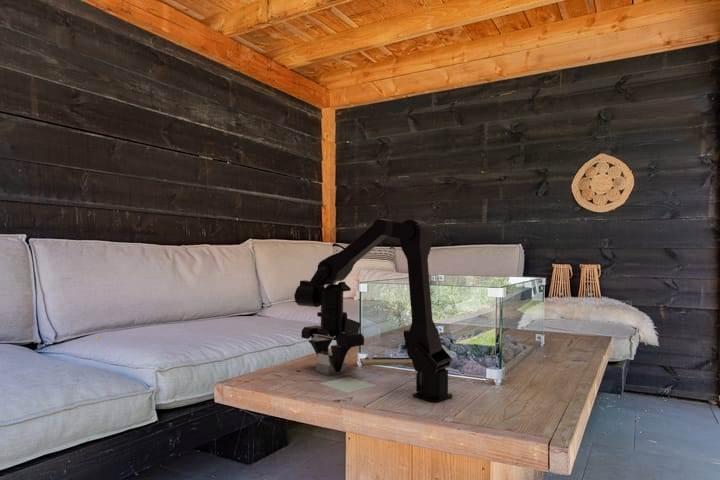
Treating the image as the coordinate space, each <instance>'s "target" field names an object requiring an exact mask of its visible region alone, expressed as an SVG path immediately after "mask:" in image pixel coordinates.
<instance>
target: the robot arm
mask: <svg viewBox="0 0 720 480" xmlns="http://www.w3.org/2000/svg"><path fill="white" fill-rule="evenodd" d="M387 237H389V238H394V239H398V240H399V245H400V248H401V250H402V252H403V255H404V257H405V258H406V262H407V263H406V264H407V273H408V277H407V278H408V287H409V288H408V289H409V300H410V311H411V312H410V313H411V315H410V316H411V325H410V328H409V329H405V330H404V331H403V337H404V348H403V349H404V350H406V354H407V356H408V357H409V358H411V359H412V362H413V365H414V368H413V369H414V371H415V372H417V373H416V374H415V376H416V377H415V379H416V380H415V382H416V383H415V385H416V386H415V387H416V388H415V391H416V392H414V393H412V397H415V398H417V399H422V400H426V401H428V402H432V403H438V402H440V401H444V400H447V399H450V398H452V397H453V394H452V393H449V370H448V369H446V368H448V367H450V365H451V363H452V360H453V359H452V358H453V357H451V356H450V354H449V353H448V352H447V351H446V349H445V348H444V347H443V345H442V342H441V337H440V333H439V330H438V329H437V326H436V325H435V322H434V319H433V308H432V297H431V286H430V285H431V284H430V274H429V261H428V260H429V259H428V258H429V256H430V251H431V249H432V245H433V244H432V241H433V228H432V226H431V225H429V224H428V222H426V221H423V220H416V219H406V220H404V221H402V222H400V221H399V222H398V221H393V220H391V219H384V218H378V219H376V220H374V222H373V223H372V225H370V226H369V227H368V228H367V229H366V230H364V231H363V232H362V233H360V235H359V236H357V237H356V238H355V239H354V240H353V241H352V242H350V243H349V244H348V245H346V247H345V248H343V249H342V250H340V251H339V252H337V253H335V254H332V255H329V256H328V257H326V258H324V259H322V260H320V261H319V263H318V265H317V269H316V270H315V272H314V275H313V276H312V278H311V279H310V280H300V281H299V285H298V286H297V287H296V290H295V293H294V295H293V296H294V302H295V303H296V304H297V306H300V307H309V308H310V307H312V308H318V307H320V311H317V314H316V315H317V317H318V318H319V317H320V325H311V326H304V327H303V328H302V329H301V338H302V339H307V340H308V343H309V344H310V345H311V348H312V349H313V350H314V352H315V354H316V356H317V357H318V353H321V351H325V352H327V351H329V347H330V351H332V355H333V361H334V366H335V370H336V372H340V371H341V368H342V365H343V362H344V359H345V360H346V356H347V354H348V352H349V350H350V349H352V348H355V347H361V346H364V345H365V336H364V335H363V334H362V333H360V330H361V329H360V328H361V325H362V323H361V322H359V321H356V320H353V319H351V318H348V313H347V312H345V311H344V292H350V291H351V290H352V288H351V287H350V286H349V285H348V284H346V281H344V280H346V278H347V277H348V275H350V274H351V272H352V270H353V268H354V266H355V265H356V263H357V262H358V261H359V260H361V259H362V258H363V257H364V256H366V255H367V254H368V253H369V252H371V251H372V250H373V249H374V248H376V246H378V245H379V244H380V243H382V242H383V241H384V240H386V238H387ZM337 282H338V283H337ZM335 283H337V284H335ZM332 341H335V342H336V344H333V345H331V343H332Z"/></svg>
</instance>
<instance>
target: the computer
mask: <svg viewBox="0 0 720 480" xmlns="http://www.w3.org/2000/svg"><path fill="white" fill-rule="evenodd" d="M391 357H392V356H391ZM391 357H390V356H388V357H385V356H383V357H380V356H379V357H374V356H373V357H372V358H369V357H367V356H366V357H362V358H359V361H360V363H361V366H363V367H364V366H404V367H408V368H412V369H414V365H413V362H412V359H411V358H407V357H406V358H393V357H394V356H393V357H392V358H391Z"/></svg>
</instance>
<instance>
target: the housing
mask: <svg viewBox="0 0 720 480" xmlns="http://www.w3.org/2000/svg"><path fill="white" fill-rule="evenodd" d="M315 370H316V373H318V374H322V375H325V376H328V377H329V376H333V375H338V374H343V373H347V371H348V367H347V362H346V358H345V359H344V362H343V365H342V368H341V371H340V372H336V370H335V366H334V361H333V355H332V350H328V351H327V352H325V351H321V353H318V356H317V362H316V363H315Z"/></svg>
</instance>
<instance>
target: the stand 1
mask: <svg viewBox="0 0 720 480" xmlns="http://www.w3.org/2000/svg"><path fill="white" fill-rule="evenodd" d="M306 373H307V374H310V375H313V376H316V377H320V378H322V379H325V380H326V379H327V380H329V381H333V380H337V379H341V378H346V377H350V376H353V375H358V373H357V372H353V371H349V370H347V373H343V374H338V375H333V376H329V377H328V376H325V375H322V374H318V373H316V369H314V370H312V369H311V370H308V371H306Z"/></svg>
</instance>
